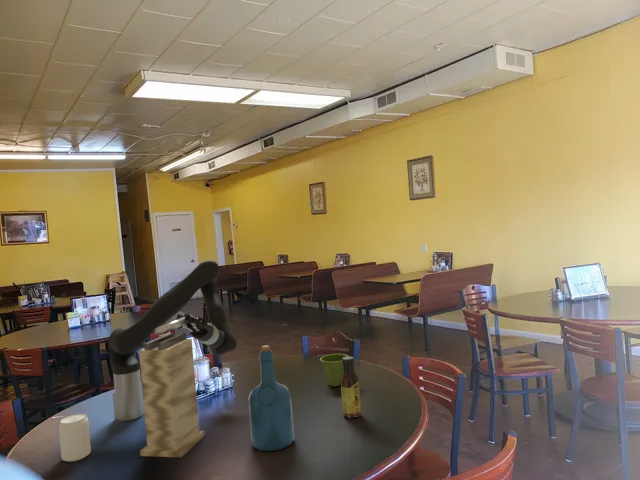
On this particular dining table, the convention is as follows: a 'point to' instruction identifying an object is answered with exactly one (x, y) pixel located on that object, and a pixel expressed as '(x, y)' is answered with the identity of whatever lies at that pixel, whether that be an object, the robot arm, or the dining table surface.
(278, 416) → the wine bottle
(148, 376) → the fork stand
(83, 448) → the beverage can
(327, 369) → the plant pot
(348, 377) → the sauce bottle
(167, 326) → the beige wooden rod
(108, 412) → the dining table surface
